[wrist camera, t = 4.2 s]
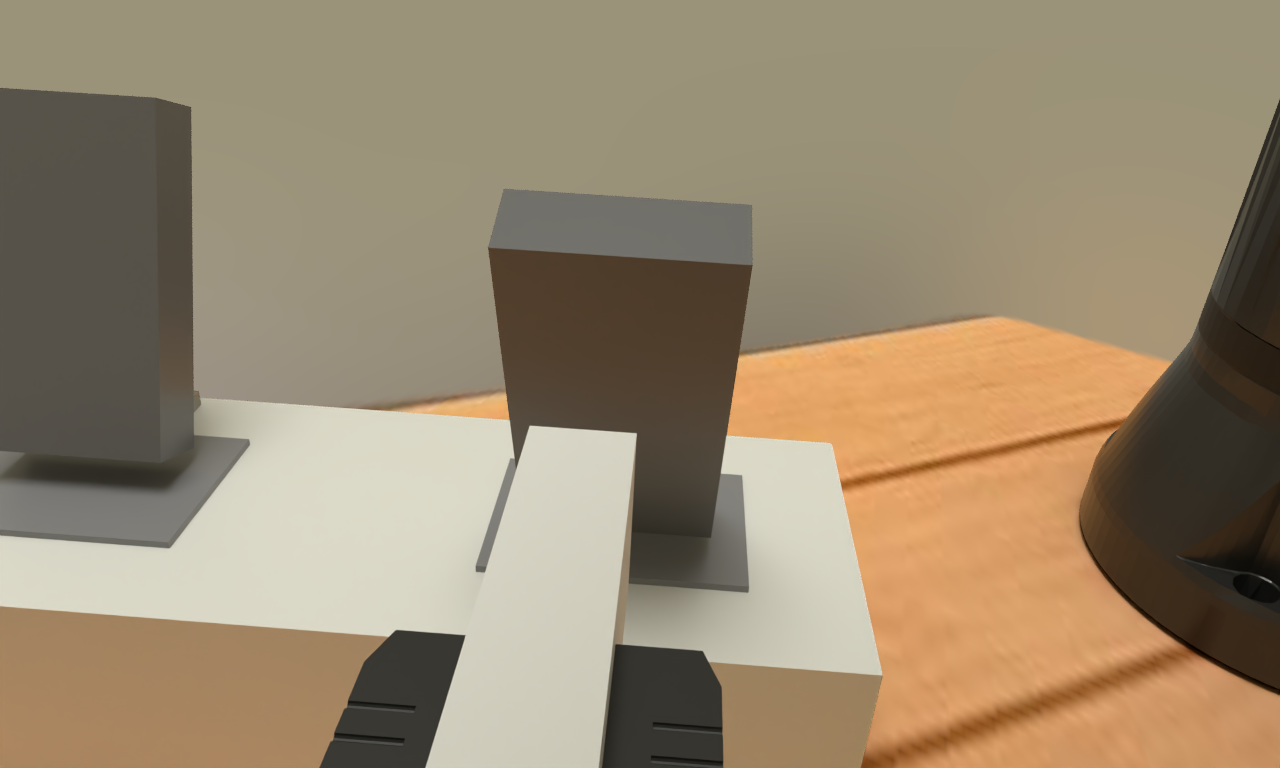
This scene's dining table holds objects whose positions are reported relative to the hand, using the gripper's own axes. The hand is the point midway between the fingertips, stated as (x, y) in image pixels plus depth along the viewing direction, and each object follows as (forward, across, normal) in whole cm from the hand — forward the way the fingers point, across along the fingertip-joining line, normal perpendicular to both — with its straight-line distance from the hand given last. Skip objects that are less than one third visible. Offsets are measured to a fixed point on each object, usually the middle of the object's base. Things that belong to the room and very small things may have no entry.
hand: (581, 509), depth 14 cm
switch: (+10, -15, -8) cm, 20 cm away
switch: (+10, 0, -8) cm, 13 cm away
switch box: (+10, -7, -14) cm, 19 cm away
